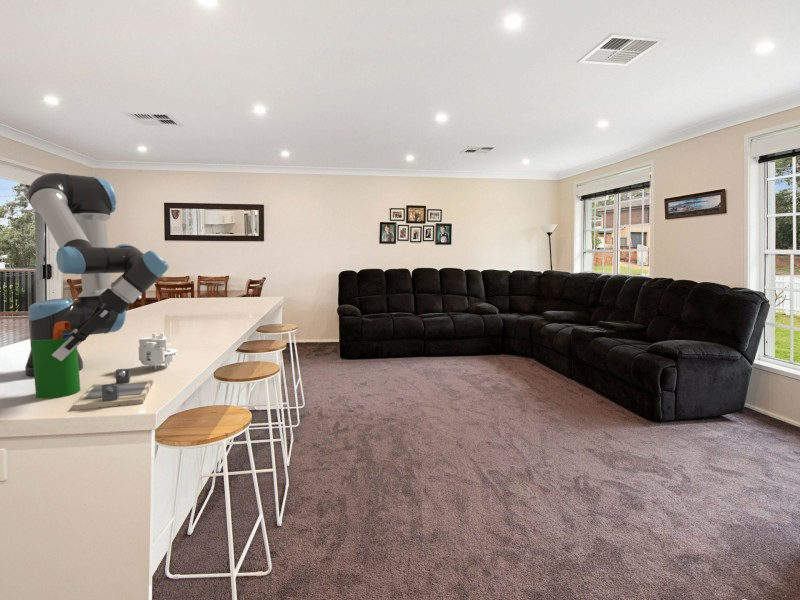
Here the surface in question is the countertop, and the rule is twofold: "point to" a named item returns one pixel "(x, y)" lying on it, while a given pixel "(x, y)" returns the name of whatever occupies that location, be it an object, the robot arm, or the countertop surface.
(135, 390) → the mount plate
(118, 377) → the grey block with stub
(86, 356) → the countertop surface
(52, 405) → the countertop surface
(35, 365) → the green plastic cylinder
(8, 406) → the countertop surface
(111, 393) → the knobbed dark grey block
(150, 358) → the mechanical part
